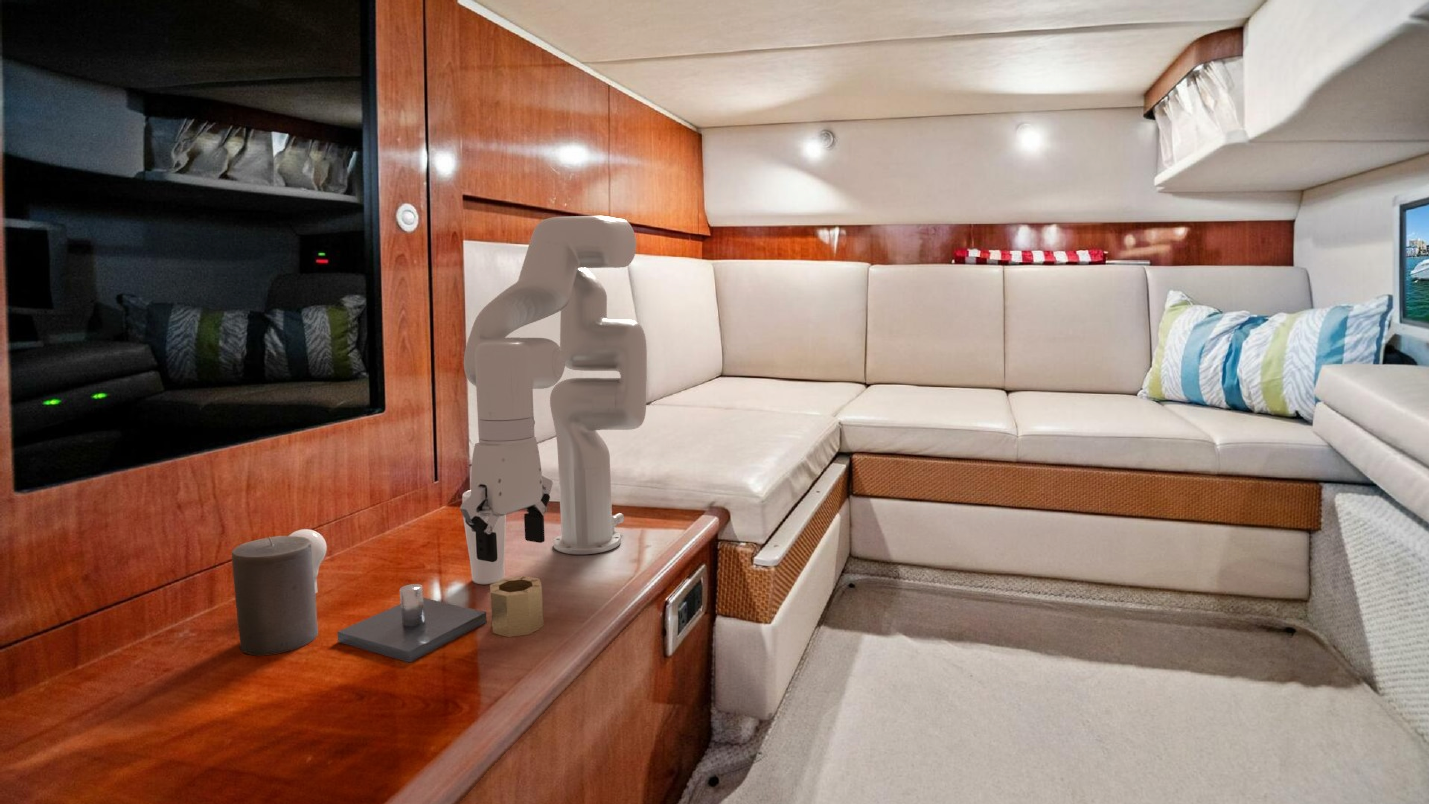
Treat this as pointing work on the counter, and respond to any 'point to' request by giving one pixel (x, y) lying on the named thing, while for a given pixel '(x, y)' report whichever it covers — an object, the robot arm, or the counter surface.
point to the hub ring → (516, 606)
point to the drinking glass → (482, 569)
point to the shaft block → (412, 626)
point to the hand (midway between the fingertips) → (511, 550)
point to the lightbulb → (314, 549)
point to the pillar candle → (274, 594)
